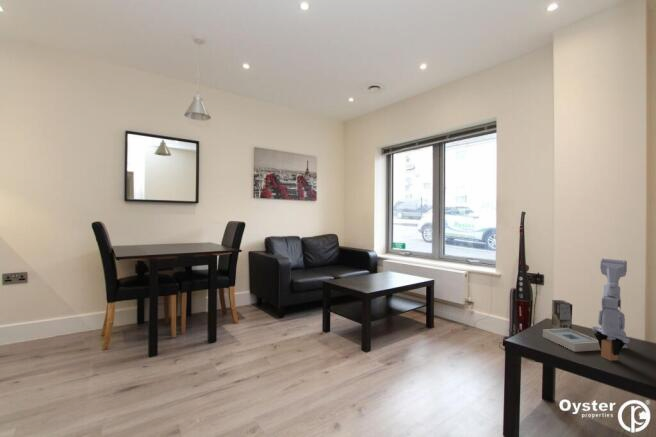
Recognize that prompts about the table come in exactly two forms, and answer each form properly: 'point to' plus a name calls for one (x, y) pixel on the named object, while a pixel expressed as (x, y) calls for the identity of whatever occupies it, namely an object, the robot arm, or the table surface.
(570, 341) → the tray
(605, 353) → the peg
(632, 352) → the table surface
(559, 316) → the coffee box
